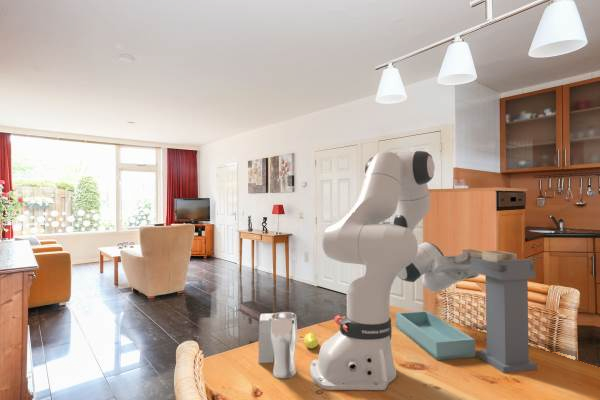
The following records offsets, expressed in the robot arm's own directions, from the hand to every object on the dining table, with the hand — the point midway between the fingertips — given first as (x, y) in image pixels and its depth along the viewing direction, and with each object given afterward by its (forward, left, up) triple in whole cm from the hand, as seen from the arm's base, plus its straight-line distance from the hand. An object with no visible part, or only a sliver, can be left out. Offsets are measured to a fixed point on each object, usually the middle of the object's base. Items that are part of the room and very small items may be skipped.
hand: (474, 254), depth 105 cm
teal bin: (-12, +5, -28) cm, 31 cm away
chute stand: (0, -10, -28) cm, 30 cm away
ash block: (0, -5, -2) cm, 5 cm away
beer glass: (-61, -7, -28) cm, 68 cm away
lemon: (-51, +8, -28) cm, 59 cm away
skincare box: (-65, +2, -28) cm, 71 cm away
